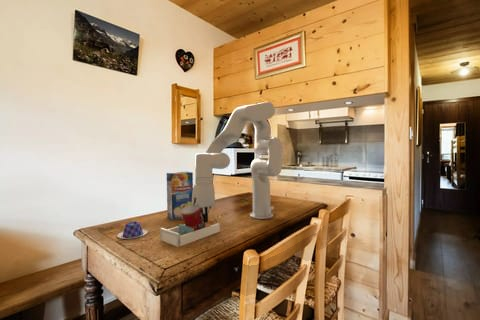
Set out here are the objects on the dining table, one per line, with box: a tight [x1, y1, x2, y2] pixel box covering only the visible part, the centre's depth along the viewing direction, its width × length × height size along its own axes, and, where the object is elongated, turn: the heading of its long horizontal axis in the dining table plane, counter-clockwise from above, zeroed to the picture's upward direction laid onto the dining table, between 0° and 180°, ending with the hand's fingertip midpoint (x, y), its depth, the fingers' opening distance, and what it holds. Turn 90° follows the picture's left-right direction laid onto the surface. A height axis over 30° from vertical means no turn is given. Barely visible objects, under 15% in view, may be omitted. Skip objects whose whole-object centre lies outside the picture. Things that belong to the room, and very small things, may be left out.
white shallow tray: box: [160, 222, 221, 248], centre depth 102 cm, size 22×12×5 cm, turn 140°
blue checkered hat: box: [116, 221, 149, 240], centre depth 104 cm, size 12×12×5 cm
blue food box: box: [166, 171, 194, 221], centre depth 131 cm, size 12×8×24 cm, turn 126°
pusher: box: [178, 223, 194, 236], centre depth 99 cm, size 2×9×4 cm, turn 51°
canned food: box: [181, 204, 207, 231], centre depth 103 cm, size 8×8×11 cm
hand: (204, 222), depth 107 cm, fingers closed
